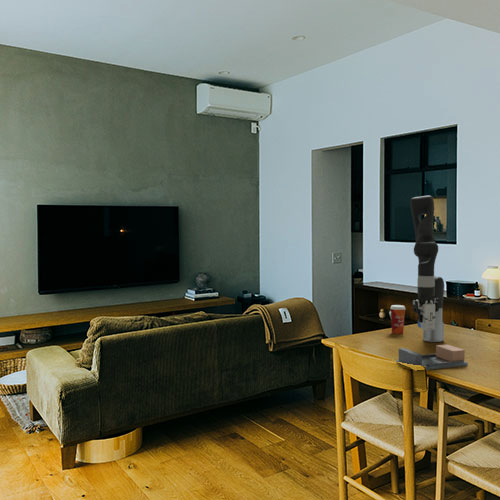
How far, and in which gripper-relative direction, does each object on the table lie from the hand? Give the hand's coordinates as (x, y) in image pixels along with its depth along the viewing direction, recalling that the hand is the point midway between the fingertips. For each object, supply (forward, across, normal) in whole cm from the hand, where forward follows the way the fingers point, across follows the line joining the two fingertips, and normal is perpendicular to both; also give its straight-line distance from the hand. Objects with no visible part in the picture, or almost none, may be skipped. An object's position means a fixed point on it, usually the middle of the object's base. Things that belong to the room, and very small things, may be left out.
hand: (426, 321), depth 237 cm
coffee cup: (+16, -16, -45) cm, 50 cm away
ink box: (+3, 0, 0) cm, 3 cm away
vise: (+15, +8, +14) cm, 22 cm away
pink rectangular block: (+14, -2, +14) cm, 20 cm away
